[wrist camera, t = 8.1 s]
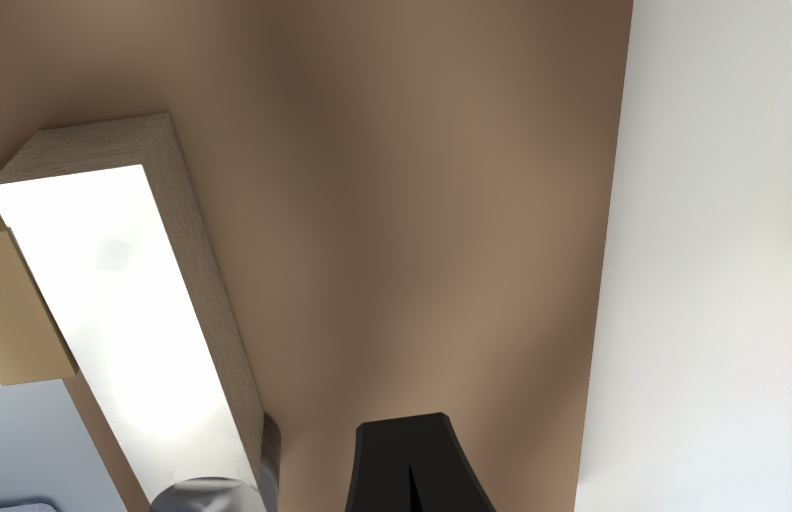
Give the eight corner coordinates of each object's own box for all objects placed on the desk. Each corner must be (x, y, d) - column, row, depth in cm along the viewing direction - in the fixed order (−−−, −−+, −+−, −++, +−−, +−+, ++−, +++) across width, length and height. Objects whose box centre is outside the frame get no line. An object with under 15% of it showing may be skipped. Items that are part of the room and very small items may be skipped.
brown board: (166, 548, 26) (143, 660, 22) (-120, -63, 14) (-268, -25, 10) (563, 492, 27) (600, 593, 23) (625, -136, 14) (724, -125, 11)
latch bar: (291, 468, 22) (288, 544, 20) (185, 485, 22) (170, 563, 20) (181, 110, 15) (157, 161, 13) (24, 132, 15) (-30, 188, 13)
